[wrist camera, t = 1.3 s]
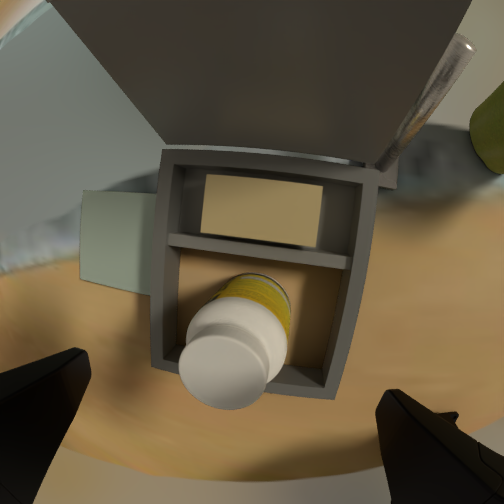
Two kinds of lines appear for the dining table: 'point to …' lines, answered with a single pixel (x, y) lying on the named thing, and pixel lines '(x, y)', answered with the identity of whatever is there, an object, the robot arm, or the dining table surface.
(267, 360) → the supplement bottle
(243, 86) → the lid
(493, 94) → the plant pot
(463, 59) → the rod
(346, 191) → the case
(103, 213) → the pad
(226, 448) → the dining table surface
